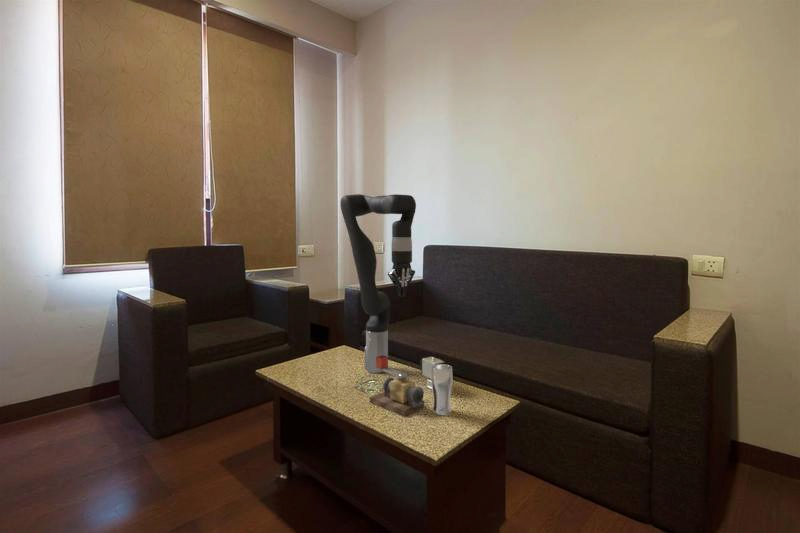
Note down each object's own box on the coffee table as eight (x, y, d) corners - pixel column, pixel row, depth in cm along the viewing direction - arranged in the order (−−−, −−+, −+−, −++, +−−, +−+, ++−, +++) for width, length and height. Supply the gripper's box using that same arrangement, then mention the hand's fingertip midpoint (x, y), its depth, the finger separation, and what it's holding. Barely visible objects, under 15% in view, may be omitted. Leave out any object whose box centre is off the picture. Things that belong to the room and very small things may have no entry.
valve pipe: (370, 402, 148) (369, 376, 147) (390, 394, 155) (390, 368, 154) (406, 417, 136) (406, 388, 135) (426, 407, 143) (426, 380, 143)
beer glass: (434, 405, 145) (434, 362, 144) (454, 409, 142) (455, 365, 141) (428, 414, 138) (428, 369, 137) (449, 417, 136) (449, 371, 135)
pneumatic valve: (438, 394, 154) (438, 362, 153) (419, 385, 164) (419, 354, 163) (450, 391, 158) (450, 359, 156) (430, 382, 167) (430, 352, 166)
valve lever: (409, 377, 144) (409, 364, 144) (402, 379, 142) (402, 366, 142) (381, 367, 155) (381, 354, 154) (375, 369, 153) (375, 356, 152)
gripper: (396, 250, 149) (397, 299, 151) (421, 249, 159) (421, 295, 160) (381, 250, 154) (382, 297, 156) (406, 248, 164) (406, 293, 165)
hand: (401, 296), depth 158 cm, fingers closed
